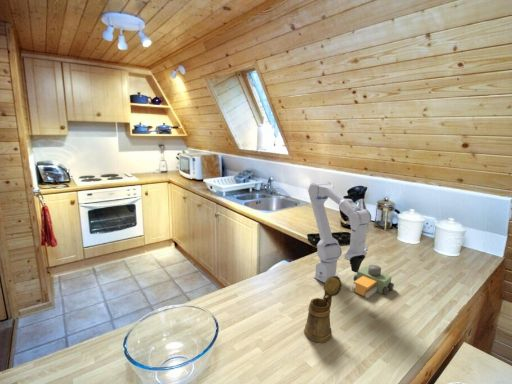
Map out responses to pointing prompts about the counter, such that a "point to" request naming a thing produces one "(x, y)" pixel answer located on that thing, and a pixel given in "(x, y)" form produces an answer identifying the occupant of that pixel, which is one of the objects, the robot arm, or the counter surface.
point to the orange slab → (364, 285)
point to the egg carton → (343, 235)
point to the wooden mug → (322, 312)
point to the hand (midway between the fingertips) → (354, 271)
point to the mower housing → (375, 274)
